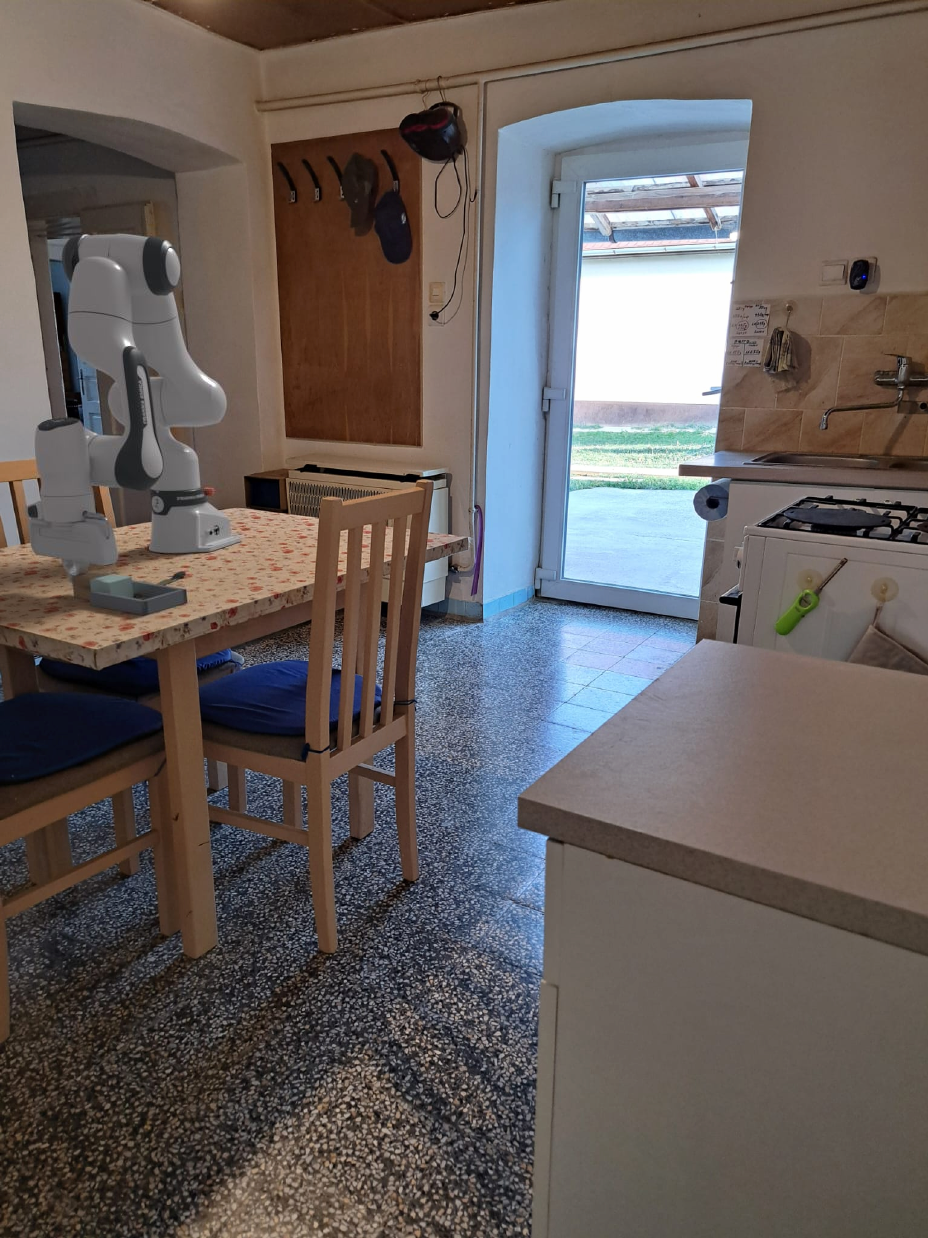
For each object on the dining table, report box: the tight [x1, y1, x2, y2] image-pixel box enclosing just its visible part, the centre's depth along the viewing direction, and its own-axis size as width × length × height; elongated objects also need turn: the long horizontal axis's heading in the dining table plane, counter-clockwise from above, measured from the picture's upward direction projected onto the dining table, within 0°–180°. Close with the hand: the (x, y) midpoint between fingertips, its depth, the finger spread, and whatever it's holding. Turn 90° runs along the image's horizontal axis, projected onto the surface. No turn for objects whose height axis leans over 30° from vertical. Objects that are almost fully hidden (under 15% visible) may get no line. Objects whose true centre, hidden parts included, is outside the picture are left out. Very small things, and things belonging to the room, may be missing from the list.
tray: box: [88, 579, 188, 616], centre depth 151 cm, size 10×14×2 cm
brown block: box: [71, 570, 112, 601], centre depth 156 cm, size 5×5×4 cm
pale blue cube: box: [90, 573, 134, 598], centre depth 154 cm, size 5×5×4 cm
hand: (78, 583), depth 158 cm, fingers closed
